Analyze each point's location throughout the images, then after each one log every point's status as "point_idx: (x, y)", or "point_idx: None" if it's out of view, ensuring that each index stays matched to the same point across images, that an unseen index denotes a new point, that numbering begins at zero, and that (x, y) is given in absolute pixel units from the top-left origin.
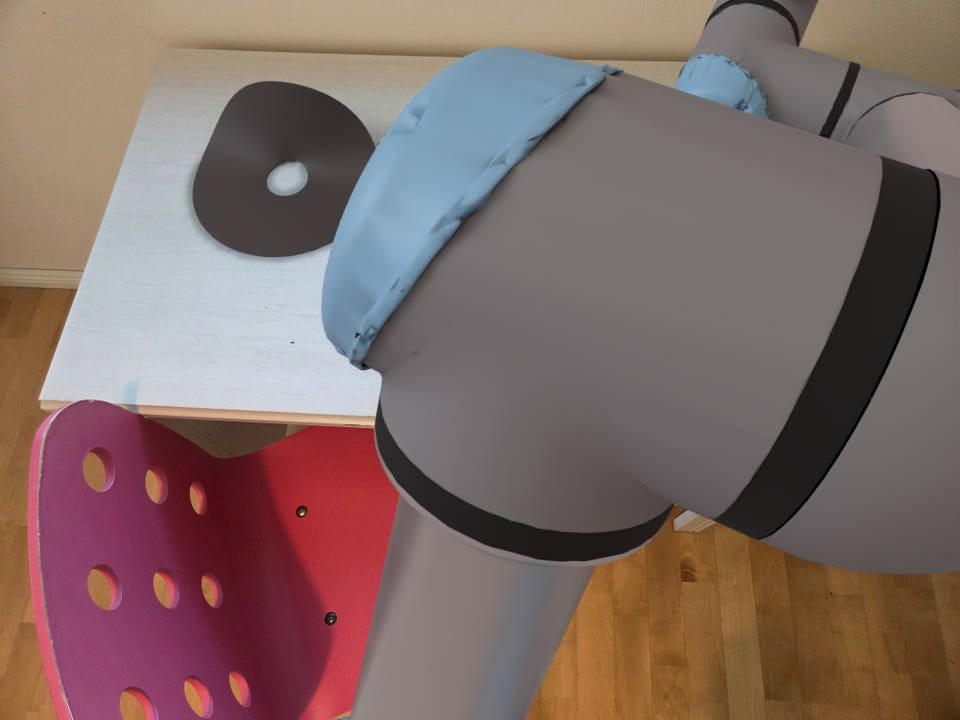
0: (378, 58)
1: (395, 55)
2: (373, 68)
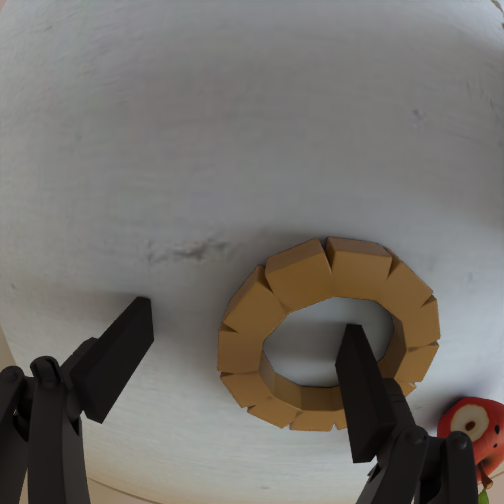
0: (492, 475)
1: (480, 482)
2: (501, 468)
